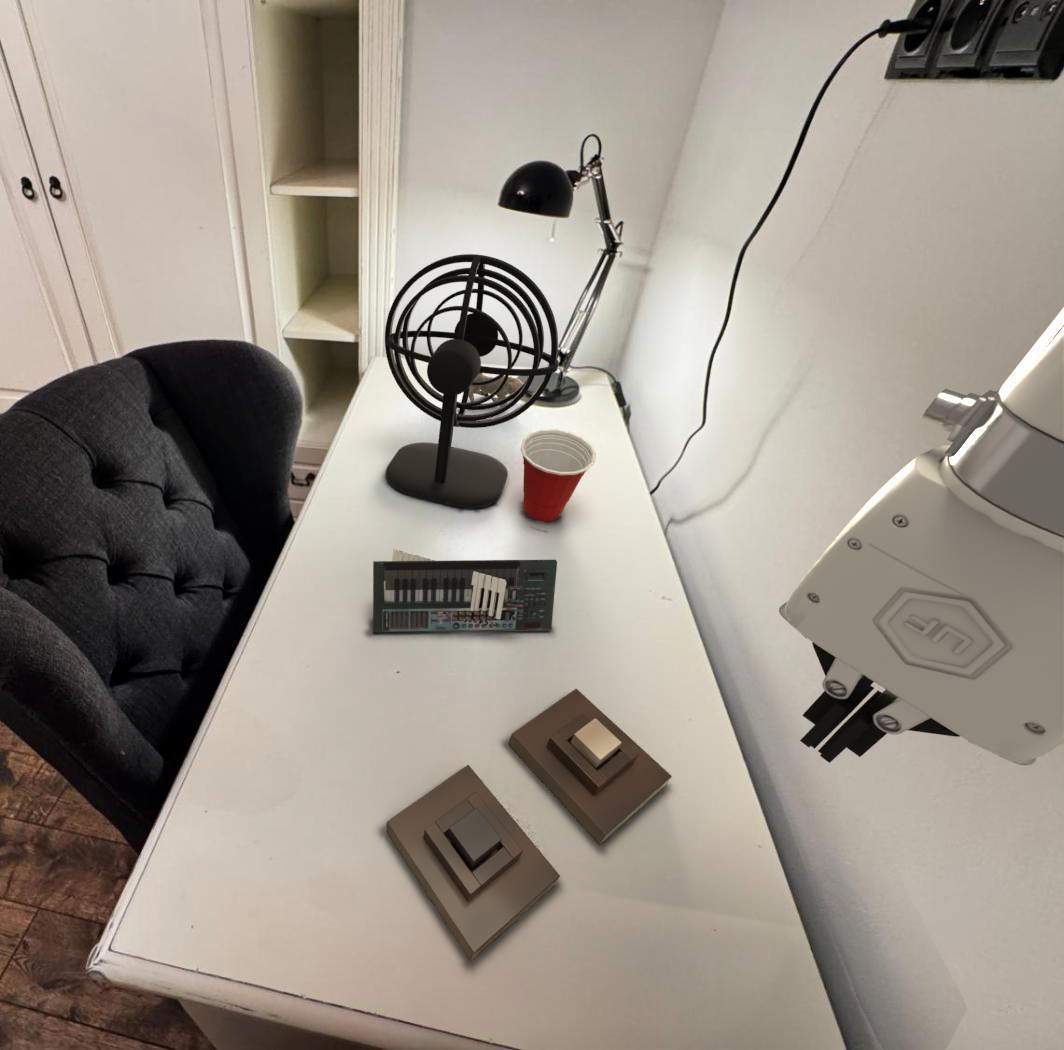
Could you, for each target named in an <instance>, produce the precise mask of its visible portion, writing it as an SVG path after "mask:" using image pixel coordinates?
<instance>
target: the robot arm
mask: <svg viewBox="0 0 1064 1050" xmlns="http://www.w3.org/2000/svg"><path fill="white" fill-rule="evenodd" d="M921 419H923V420H925V421H929V422H932V423H934V424H937V425H940V426H941V427H940V429H941V430H943V431H946V432H948V433H950V434H949V435H948V437H947V439H946V440H947V441H949V442H951V444H947V445H939V446H936V447H933V448H932V449H929V450H928V451H925V452H923V453H921V454H919V455H917V456H916V457H915V458H913V459H912V460H911V461H909V462H908V463H907V464H906V465H905V466H904V467H902V468H901V469H900V470H899V471H898V472H897V473H895V474H894V475H893V477H891V478H890V479H889V480H888V481H887V482H886V483H885V484H884V485H883V486H882V487H881V488H880V489H878V490H877V492H876V493H875V494H874V495H873V496H872V497H870V499H869V500H868V501H867V502H866V503H865V504H864V505H863V507H861V509H860V510H859V511H858V512H857V513H856V514H855V515H854V517H853V518H852V519H851V520H850V521H849V522H848V523H847V524H846V525H845V527H844V528H843V529H842V530H841V532H840V533H839V534H838V535H837V536H836V537H835V539H834V540H833V541H832V542H831V543H830V545H829V546H828V547H827V548H826V550H825V551H824V552H823V553H822V554H821V556H820V557H819V558H818V559H817V561H815V563H814V564H813V565H812V567H811V568H810V569H809V570H808V571H807V573H806V574H805V576H803V578H802V579H801V581H800V582H799V583H798V585H797V586H796V587H795V589H794V590H793V591H792V593H791V594H790V596H789V598H788V600H786V601H785V602H784V603H783V604H782V605H780V606H779V608H778V612H779V615H780V616H781V617H782V618H783V619H784V620H785V621H786V622H787V623H788V624H789V625H791V626H792V627H793V628H794V629H795V630H796V631H797V632H798V633H799V634H800V635H802V636H803V637H804V638H805V639H807V640H810V641H811V644H812V647H813V650H814V652H815V655H816V657H817V659H818V662H819V664H820V667H821V669H822V671H823V674H824V676H825V677H824V679H823V681H822V683H821V685H822V688H823V690H824V691H823V692H822V693H821V694H820V695H819V696H818V697H817V698H816V700H815V701H814V702H812V704H811V705H810V706H809V707H808V708H807V709H806V711H804V713H803V714H802V717H803V718H804V719H806V720H807V721H808V722H810V723H812V724H813V726H812V727H811V729H809V731H807V732H806V733H805V735H804V736H803V737H802V738H801V739H799V742H801V744H803V745H805V747H807V748H813V749H816V748H817V747H818V746H819V745H820V744H821V743H822V742H823V741H825V739H826V738H827V737H828V736H829V735H830V734H832V732H833V731H834V730H835V729H836V731H835V732H834V733H833V734H832V735H831V736H830V737H829V738H828V740H826V742H825V743H824V744H822V745H821V747H820V748H819V749H818V750H817V752H818V753H819V754H820V755H819V757H820V758H822V759H823V760H825V761H826V762H827V763H829V764H830V763H831V762H832V761H834V760H835V759H836V758H837V757H838V756H839V755H840V754H841V753H842V752H844V750H846V749H848V750H849V751H850V752H852V753H853V754H854V755H856V756H857V757H859V758H861V757H863V755H865V754H866V753H867V752H868V751H869V750H870V749H872V748H873V747H874V746H875V745H876V744H878V742H880V740H881V739H883V738H884V737H886V735H887V734H888V735H892V736H893V735H894V736H895V735H896V736H897V735H900V734H903V733H905V732H907V731H910V732H917V733H926V734H933V735H940V736H947V737H956V738H957V737H958V738H960V737H961V738H963V739H965V740H967V742H968V743H970V744H973V745H975V746H977V747H979V748H981V749H983V750H986V751H987V752H990V753H991V754H994V755H996V756H999V757H1000V758H1003V759H1005V760H1006V761H1009V762H1011V763H1014V764H1016V765H1018V766H1032V765H1033V764H1034V763H1035V762H1036V761H1037V760H1038V758H1040V757H1043V756H1044V755H1046V754H1048V753H1050V752H1052V751H1053V750H1055V749H1057V748H1058V747H1059V746H1061V745H1062V744H1064V306H1063V307H1062V309H1061V310H1060V311H1059V313H1058V314H1057V315H1056V316H1055V318H1053V320H1052V321H1051V323H1050V324H1049V325H1048V326H1047V327H1046V329H1045V330H1044V332H1043V333H1042V334H1041V335H1040V337H1039V338H1038V339H1037V340H1036V342H1034V344H1033V346H1032V347H1031V348H1030V349H1029V351H1028V352H1027V353H1026V354H1025V356H1024V357H1023V358H1022V360H1021V361H1020V362H1019V363H1018V364H1017V366H1016V367H1015V368H1014V369H1013V371H1012V372H1011V373H1010V375H1009V376H1008V377H1007V378H1006V380H1005V381H1004V382H1003V384H1001V386H1000V389H998V390H997V391H995V390H992V389H989V390H988V391H986V392H985V393H984V394H982V395H980V394H976V393H974V392H969V393H968V394H964V393H960V392H957V391H954V390H951V389H948V388H945V389H943V390H942V391H941V392H940V393H939V394H937V396H936V397H935V398H934V400H932V401H931V403H930V405H928V407H926V410H925V411H924V413H923V415H922V417H921ZM874 683H875V684H877V685H878V686H880V687H882V688H883V689H884V690H883V692H882V691H880V690H877V691H875V692H874V693H873V694H872V695H871V696H870V697H869V698H868V699H867V700H866V701H865V702H864V703H863V704H862V705H861V706H860V707H859V708H858V709H857V710H856V711H855V712H854V710H855V709H856V708H857V707H858V706H859V705H860V704H861V703H862V702H863V701H864V700H865V699H866V698H867V697H868V695H870V694H871V692H872V691H874V690H875V687H874V686H872V684H874ZM852 713H853V714H852ZM850 714H852V715H851V716H850V717H849V715H850ZM846 718H848V719H847V720H846V721H844V720H845V719H846ZM843 721H844V723H843ZM841 723H843V724H842V725H841V726H840V727H839V728H838V729H837V727H838V726H839V725H840V724H841Z"/></svg>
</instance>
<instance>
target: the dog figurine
mask: <svg viewBox="0 0 1064 1050" xmlns="http://www.w3.org/2000/svg"><path fill="white" fill-rule="evenodd" d="M494 377H495V376H488V375H485V374H484V373H479V374H478V376H477V377H476V379H475V380H474V381H485V380H489V379H492V378H494ZM504 377H505V375H504V376H503V377H502V378H500V379H498V380H496V381H494V382H492V383H489V384H485V385H471V386H470V391H469V396H468V400H469V402H475V401H476V400H475V397H474V395H475V394H476V395H480V396H481V397H484V398H486V397H487V396H489V395H490V394H492V393H493V392H494V391H495V390H496V389H497V388H498V387H499V386H500V384H501V383H502V381H503V380H504ZM523 383H524V382H523V381H521V380H520V379H519V378H517V377H516V376H508V379H507V381H506V383H505V384H504V386H503V387H502V389H501V390H500V391H499V392H498V393H497V394H496V395H495V396H496V397H493V398H491V399H490V400H491V401H492V402H495V401H498V400H500V399H503V398H505V397H507V396H508V395H510V394H511V393H513V392H514V391H516V390H517V389H518V388H519V387H520V386H521V385H522V384H523ZM526 397H527V395H526V393H525V394H524V396H523V397H522V398H526ZM507 403H508V402H507ZM507 403H505V404H503V405H500V406H499V408H501V407H502V406H504V405H506V404H507Z"/></svg>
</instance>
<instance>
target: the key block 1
mask: <svg viewBox="0 0 1064 1050" xmlns="http://www.w3.org/2000/svg"><path fill="white" fill-rule="evenodd" d="M475 808H478V810H479V811H480V812H481V813H482V815H483V816H484V817H485V818H486V820H487V821H488V822H489V824H490V825H491V826H492V827H493V829H494V830H495V831H496V832H497V834H498V835H499V836H500V837H501V839H502V840H501V842H500V845H499V847H498V848H497V849H496V850H494V851H493V852H492V853H491V854H490V855H488V856H487V857H486V858H485V859H483V860H482V861H481V862H480V863H478V864H477V865H476V866H475V867H473V868H472V869H471V868H470V867H469V865H468V864H467V862H466V861H465V860H464V858H463V857H462V856H461V854H460V853H459V851H458V850H457V849H456V847H455V846H454V844H453V843H452V842H451V840H450V839H449V838H448V831H449V828H450V827H451V826H452V825H454V824H455V823H456V822H458V821H459V820H460V819H462V818H463V817H464V816H466V815H467V814H468V813H470V812H471V811H472V810H474V809H475ZM385 831H386V833H387V835H388V836H389V838H390V840H391V841H392V843H393V844H394V845H395V847H396V849H397V850H398V852H399V853H400V855H401V857H402V858H403V860H404V861H405V862H406V864H407V866H408V867H409V869H410V870H411V872H412V874H413V875H414V877H415V878H416V879H417V881H418V882H419V884H420V886H421V888H422V889H423V891H424V892H425V893H426V895H427V896H428V898H429V899H430V901H431V902H432V904H433V906H434V907H435V909H436V910H437V911H438V913H439V915H440V916H441V918H442V919H443V921H444V923H445V924H446V925H447V927H448V928H449V929H450V932H451V933H452V935H453V936H454V938H455V939H456V941H457V942H458V944H459V945H460V947H461V948H462V950H463V951H464V953H465V954H466V956H467V958H468V959H469V960H470V961H472V960H473V959H474V958H476V957H477V956H478V955H479V954H480V953H481V952H483V950H485V948H487V947H488V946H489V945H490V944H491V943H492V942H493V941H495V940H496V939H497V938H498V937H499V936H500V935H501V934H503V932H504V931H505V930H507V929H508V928H509V927H510V926H512V924H514V922H516V921H517V920H518V919H519V918H520V917H521V916H523V914H525V913H526V912H527V911H528V910H529V909H530V908H531V907H532V906H534V905H535V904H536V903H537V902H538V901H539V900H540V899H541V898H542V897H543V896H544V895H546V894H547V893H548V892H549V891H550V890H551V889H553V888H554V886H555V885H556V884H557V882H558V881H559V879H560V878H561V874H559V873H558V871H557V870H556V869H555V867H554V866H553V865H552V864H551V863H550V861H549V860H548V859H547V858H546V856H544V854H543V853H542V852H541V850H540V849H539V848H538V847H537V846H536V845H535V843H534V842H533V841H532V839H530V837H529V836H528V834H526V832H525V831H524V830H523V828H521V826H520V825H519V824H518V823H517V822H516V820H515V819H514V818H513V817H512V815H511V814H510V813H509V812H508V810H507V809H505V807H504V806H503V805H502V803H501V802H500V801H499V800H498V798H497V797H496V796H495V795H494V794H493V793H492V791H491V790H490V789H489V787H488V786H486V784H485V783H484V782H483V780H482V779H481V777H479V776H478V775H477V773H476V772H475V771H474V769H472V767H471V766H470V764H466V766H464V767H462V768H461V769H460V770H458V771H457V772H455V773H454V774H452V775H451V776H450V777H448V778H446V779H445V780H444V781H443V782H441V783H439V785H437V786H436V787H434V788H433V789H431V790H430V791H428V792H427V793H425V794H424V795H422V796H421V797H420V798H418V799H417V800H416V801H414V802H413V803H411V804H410V805H408V806H407V807H406V808H404V809H403V810H401V811H400V812H399V813H397V814H396V815H394V816H393V817H391V818H390V819H389V820H387V821H386V828H385Z"/></svg>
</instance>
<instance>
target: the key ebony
mask: <svg viewBox="0 0 1064 1050" xmlns="http://www.w3.org/2000/svg"><path fill="white" fill-rule="evenodd" d="M448 838H449V839H450V840H451V842H452V843H453V844H454V846H455V847H456V849H457V850H458V851H459V853H460V854H461V856H462V857H463V858H464V860H465V861H466V862H467V864H468V865H469V867H470V868H471V869H472V868H473V867H475V866H476V865H477V864H478V863H480V862H481V861H482V860H483V859H485V858H486V857H487V856H488V855H490V854H491V853H492V852H493V851H494V850H496V849H497V848H498V847H499V845H500V842H501V840H502V839H501V837H500V836H499V835H498V834H497V832H496V831H495V830H494V829H493V827H492V826H491V825H490V824H489V822H488V821H487V820H486V818H485V817H484V816H483V815H482V813H481V812H480V811H479V810H478V808H475V809H474V810H472V811H471V812H470V813H468V814H467V815H466V816H464V817H463V818H462V819H460V820H459V821H458V822H456V823H455V824H454V825H452V826H451V827H450V828H449V831H448Z"/></svg>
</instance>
